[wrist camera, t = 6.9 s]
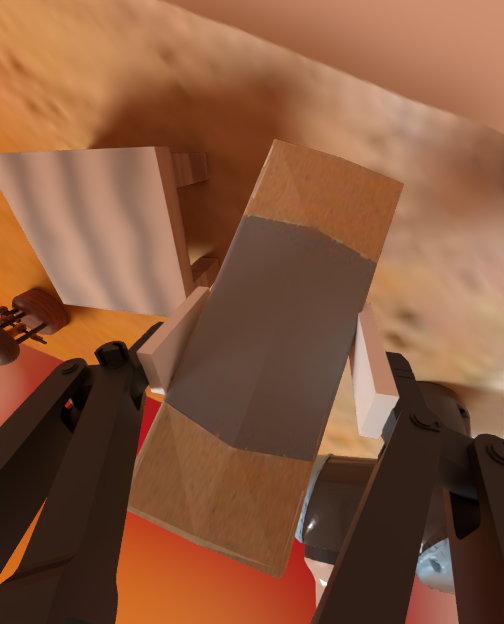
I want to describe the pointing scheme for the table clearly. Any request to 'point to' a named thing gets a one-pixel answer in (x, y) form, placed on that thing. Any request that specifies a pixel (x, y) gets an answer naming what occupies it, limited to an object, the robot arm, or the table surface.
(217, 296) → the sandwich container
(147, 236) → the stool
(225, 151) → the table surface
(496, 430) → the table surface
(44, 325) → the small figurine
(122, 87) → the table surface
